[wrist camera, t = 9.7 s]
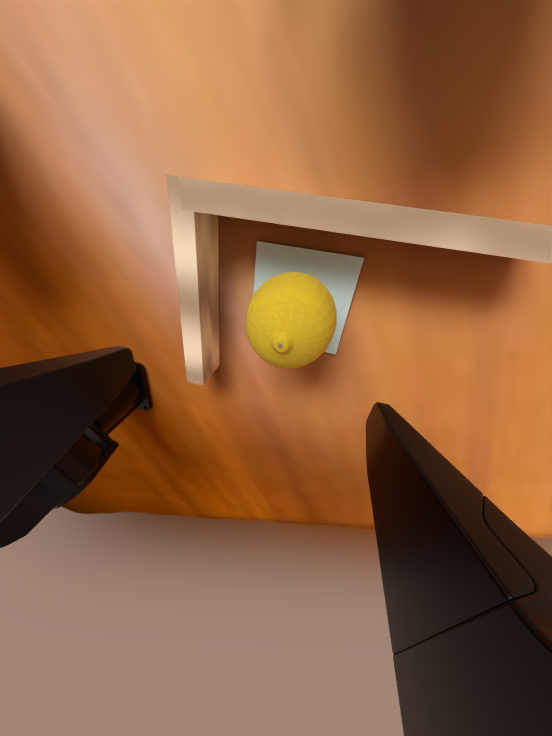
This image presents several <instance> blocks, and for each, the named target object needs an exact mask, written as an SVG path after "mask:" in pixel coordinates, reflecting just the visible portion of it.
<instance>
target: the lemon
mask: <svg viewBox="0 0 552 736" xmlns="http://www.w3.org/2000/svg"><path fill="white" fill-rule="evenodd" d="M336 322H337V311H336V307H335V303H334V299H333V297H332V296H331V294H330V292H329V290H328V289H327V287H326V286H325V285H323V284H322V283H321V282H320V281H319V280H318V279H316V278H314V277H313V276H311V275H309V274H305V273H301V272H285V273H282V274H279V275H276V276H274V277H272V278H271V279H269V280H267V281H266V282H264V283H263V284H262V285H261V287H260V288H259V289H258V290H257V291H256V292H255V294H254V295H253V297H252V300H251V302H250V304H249V306H248V310H247V316H246V333H247V336H248V339H249V342H250V344H251V346H252V348H253V349H254V351H255V352H256V353H257V354H258V355H259V356H260V357H261V358H262V359H263V360H265V361H266V362H268V363H269V364H271V365H274V366H277V367H281V368H298V367H302V366H305V365H307V364H309V363H311V362H312V361H314V360H316V359H317V358H318V357H319V356H320V355H321V354H322V353H323V352H324V351H325V350H326V348H327V347H328V345H329V343H330V342H331V340H332V338H333V335H334V331H335V328H336Z"/></svg>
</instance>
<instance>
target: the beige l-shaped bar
mask: <svg viewBox="0 0 552 736" xmlns="http://www.w3.org/2000/svg"><path fill="white" fill-rule="evenodd" d="M166 176H167V186H168V196H169V206H170V216H171V226H172V236H173V246H174V256H175V266H176V276H177V286H178V295H179V305H180V315H181V325H182V335H183V345H184V355H185V365H186V375H187V382H191V383H196V384H200V385H204V384H205V383H206V381H207V380H208V379H209V378H210V376H211V375H212V374H213V373H214V371H215V370H216V369H217V368H218V366H219V365H220V360H219V248H218V215H221V216H227V217H234V218H241V219H248V220H255V221H262V222H269V223H275V224H282V225H289V226H296V227H303V228H310V229H317V230H324V231H330V232H337V233H344V234H351V235H358V236H365V237H372V238H378V239H385V240H392V241H399V242H406V243H413V244H420V245H426V246H433V247H440V248H447V249H454V250H461V251H468V252H475V253H481V254H488V255H495V256H502V257H509V258H516V259H523V260H529V261H536V262H543V263H550V264H552V226H551V225H543V224H536V223H528V222H521V221H513V220H505V219H498V218H490V217H482V216H475V215H467V214H459V213H452V212H444V211H437V210H429V209H421V208H414V207H406V206H398V205H391V204H383V203H375V202H368V201H360V200H353V199H345V198H337V197H330V196H322V195H314V194H307V193H299V192H291V191H284V190H276V189H268V188H261V187H253V186H246V185H238V184H230V183H223V182H215V181H207V180H200V179H192V178H184V177H177V176H169V175H166Z"/></svg>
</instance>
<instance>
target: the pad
mask: <svg viewBox="0 0 552 736" xmlns="http://www.w3.org/2000/svg"><path fill="white" fill-rule="evenodd" d="M363 260H364V257H358V256H351V255H345V254H338V253H332V252H325V251H319V250H313V249H306V248H300V247H293V246H287V245H280V244H274V243H267V242H261V241H257V248H256V263H255V277H254V292H253V295H254V294H255V292H256V291H257V290H258V289H259V288H260V287H261V285H262V284H263V283H264V282H266V281H267V280H269V279H271V278H272V277H274V276H276V275H279V274H282V273H285V272H301V273H305V274H309V275H311V276H313V277H314V278H316V279H318V280H319V281H320V282H321V283H322V284H323V285H325V286H326V287H327V289H328V290H329V292H330V294H331V296H332V297H333V299H334V303H335V307H336V311H337V322H336V328H335V331H334V335H333V338H332V340H331V342H330V343H329V345H328V347H327V348H326V350H325V351H324V352H326V353H331V354H336V352H337V348H338V345H339V342H340V338H341V335H342V331H343V328H344V325H345V321H346V318H347V315H348V311H349V308H350V304H351V301H352V298H353V294H354V291H355V288H356V284H357V281H358V277H359V274H360V271H361V267H362V264H363Z"/></svg>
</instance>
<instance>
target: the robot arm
mask: <svg viewBox="0 0 552 736" xmlns="http://www.w3.org/2000/svg"><path fill="white" fill-rule="evenodd" d="M151 408H152V406H151V401H150V397H149V392H148V387H147V383H146V378H145V373H144V369H143V366H142V365H141V364H140V363H136V362H134V358H133V354H132V351H131V350H130V349H129V348H126V347H121V346H115V347H110V348H105V349H99V350H94V351H89V352H83V353H78V354H73V355H67V356H62V357H57V358H52V359H46V360H41V361H36V362H30V363H25V364H20V365H14V366H9V367H4V368H0V548H2V547H5V546H7V545H9V544H11V543H13V542H15V541H16V540H18V539H20V538H22V537H24V536H25V535H27V534H28V533H29V532H30V531H31V530H32V529H33V528H34V527H35V526H36V525H37V524H38V523H39V522H40V521H41V520H42V519H43V518H44V517H45V516H46V515H47V514H48V513H49V512H50V511H51V510H52V509H56V508H59V507H61V506H63V505H64V504H66V503H67V502H69V501H70V500H72V499H73V498H74V497H75V496H77V495H78V494H79V493H80V492H81V491H82V490H83V489H84V488H85V487H86V486H87V485H88V484H89V483H90V482H91V481H92V480H93V479H94V477H95V476H96V475H97V474H98V472H99V471H100V470H101V468H102V467H103V466H104V464H105V463H106V462H107V460H108V459H109V458H110V456H111V455H112V454H113V452H114V451H115V450H116V448H117V447H118V446H119V444H118V443H117V442H116V441H113V440H112V439H111V438H110V437H109V436H108V434H109V433H110V432H111V431H113V430H114V429H115V428H116V427H117V426H118V425H119V424H120V423H121V422H122V421H123V420H124V419H125V418H126V417H127V416H129V415H130V414H131V413H132V412H133V411H134V410H135V409H141V410H145V411H149V410H150V409H151ZM366 462H367V474H368V481H369V488H370V495H371V502H372V509H373V517H374V524H375V531H376V538H377V545H378V552H379V559H380V566H381V573H382V580H383V588H384V595H385V602H386V609H387V616H388V623H389V630H390V638H391V645H392V652H393V654H394V655H393V659H394V668H395V675H396V682H397V689H398V695H399V703H400V710H401V717H402V724H403V732H404V736H552V556H551V555H550V554H548V553H547V552H546V551H545V550H544V549H543V548H541V547H540V546H539V545H538V544H537V543H536V542H535V541H534V540H532V539H531V538H530V537H529V536H528V535H527V534H526V533H525V532H523V531H522V530H521V529H520V528H519V527H518V526H517V525H516V524H515V523H514V522H513V521H512V520H510V519H509V518H508V517H507V516H506V515H505V514H504V513H503V512H502V511H501V510H500V509H499V508H498V507H497V506H495V505H494V504H493V503H492V502H491V501H490V500H489V499H488V498H487V497H486V496H483V493H482V492H481V491H480V490H479V489H477V488H476V487H475V486H474V485H473V484H472V483H471V482H470V481H469V480H468V479H467V478H466V477H465V476H464V475H463V474H462V473H461V472H460V471H458V470H457V469H456V468H455V467H454V466H453V465H452V464H451V463H450V462H449V461H448V460H447V459H446V458H445V457H444V456H443V455H442V454H441V453H439V452H438V451H437V450H436V449H435V448H434V447H433V446H432V445H431V444H430V443H429V442H428V441H427V440H426V439H425V438H424V437H423V436H422V435H420V434H419V433H418V432H417V431H416V430H415V429H414V428H413V427H412V426H411V425H410V424H409V423H408V422H407V421H406V420H405V419H404V418H403V417H401V416H400V415H399V414H398V413H397V412H396V411H395V410H394V409H393V408H392V407H391V406H390V405H388V404H384V403H380V402H376V403H375V404H374V405H373V408H372V410H371V412H370V414H369V416H368V418H367V421H366Z"/></svg>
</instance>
